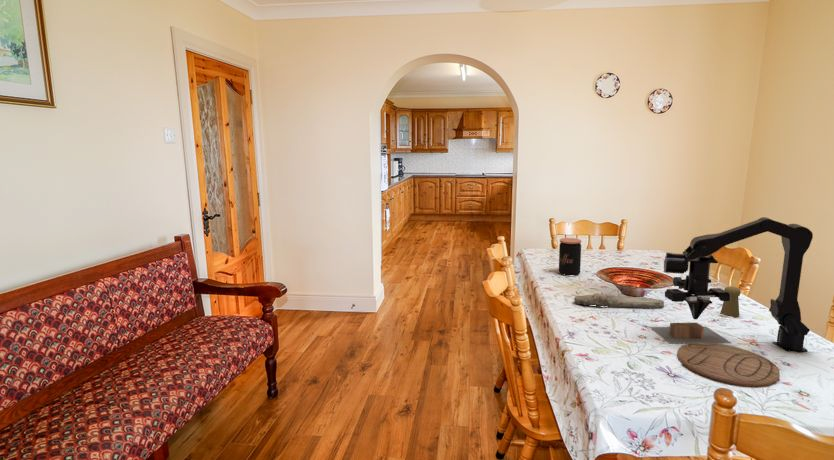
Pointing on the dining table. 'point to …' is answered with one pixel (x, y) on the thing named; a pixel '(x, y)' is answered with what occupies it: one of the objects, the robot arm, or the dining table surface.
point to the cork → (731, 303)
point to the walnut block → (686, 330)
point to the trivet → (728, 364)
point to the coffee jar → (570, 256)
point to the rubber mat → (708, 337)
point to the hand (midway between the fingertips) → (695, 319)
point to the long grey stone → (618, 301)
